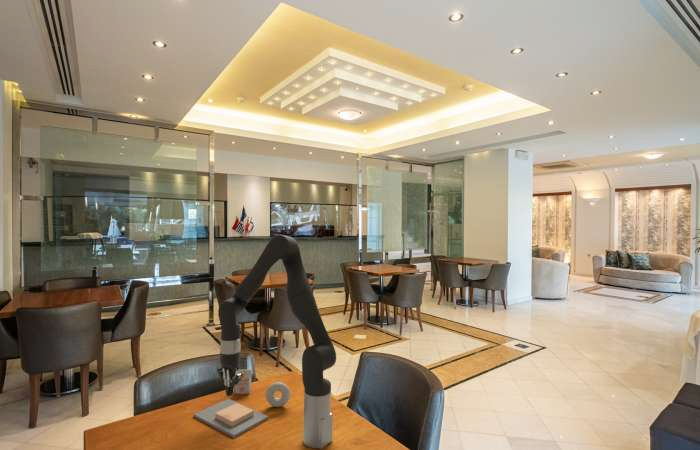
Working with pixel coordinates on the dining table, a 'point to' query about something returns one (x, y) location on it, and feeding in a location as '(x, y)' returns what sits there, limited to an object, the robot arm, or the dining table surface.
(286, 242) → the robot arm
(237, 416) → the tile
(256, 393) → the dining table surface
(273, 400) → the donut
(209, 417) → the board
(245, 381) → the white printed carton
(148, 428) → the dining table surface
